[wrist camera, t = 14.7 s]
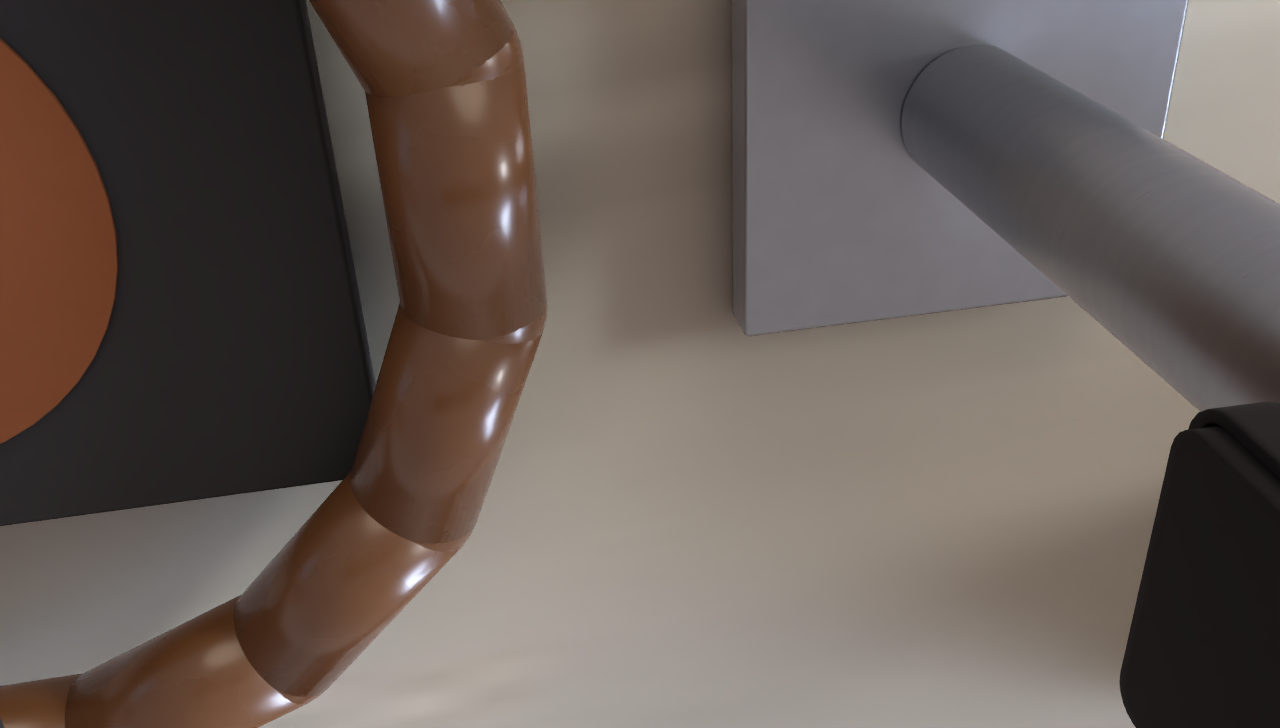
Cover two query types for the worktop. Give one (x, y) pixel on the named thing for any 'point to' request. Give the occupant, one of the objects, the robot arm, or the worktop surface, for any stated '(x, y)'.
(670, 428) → the worktop surface
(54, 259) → the burner mat
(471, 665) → the worktop surface
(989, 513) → the worktop surface
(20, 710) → the ring
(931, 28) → the hanger
